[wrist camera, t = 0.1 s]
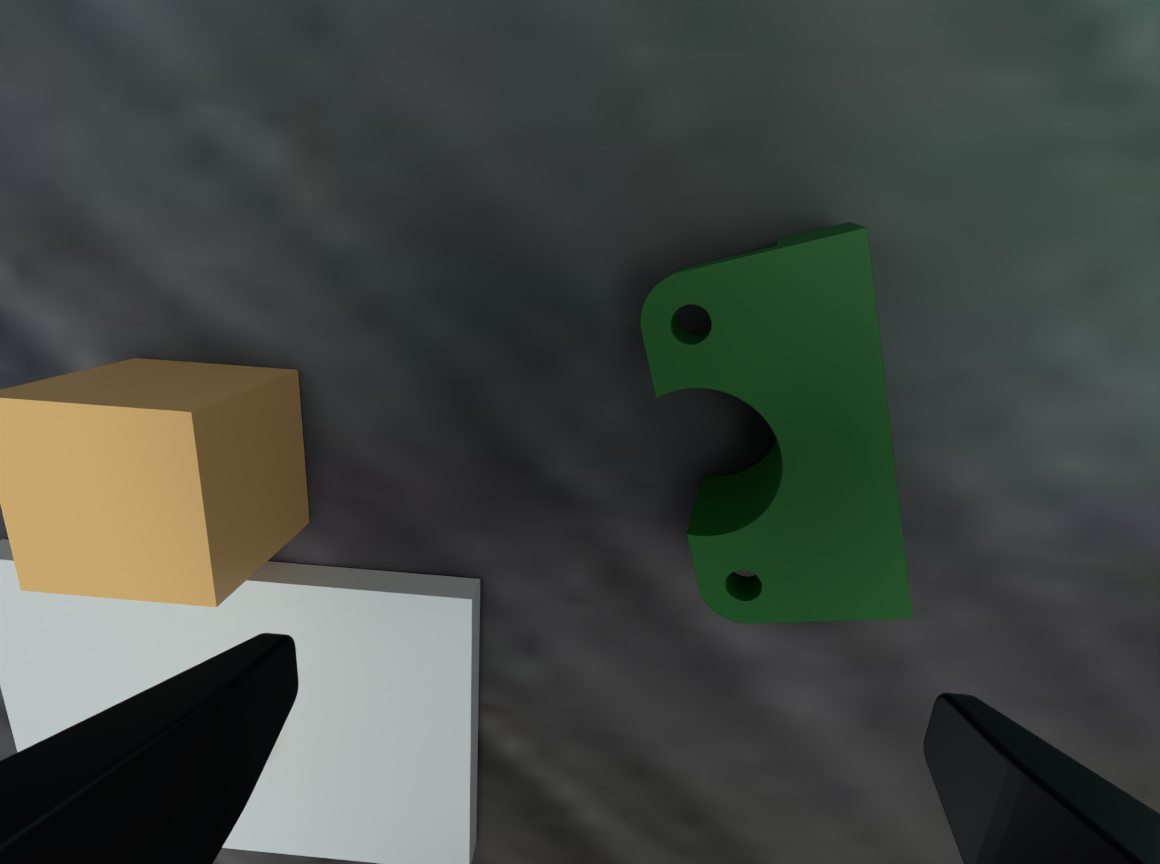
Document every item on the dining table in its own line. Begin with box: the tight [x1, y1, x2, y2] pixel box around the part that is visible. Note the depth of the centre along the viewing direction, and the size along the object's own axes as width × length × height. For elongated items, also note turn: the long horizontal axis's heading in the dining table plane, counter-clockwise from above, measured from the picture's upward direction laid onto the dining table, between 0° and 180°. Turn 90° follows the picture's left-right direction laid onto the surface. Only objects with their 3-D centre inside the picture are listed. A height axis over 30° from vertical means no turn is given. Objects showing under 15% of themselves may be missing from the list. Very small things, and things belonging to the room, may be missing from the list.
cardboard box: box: [0, 358, 310, 607], centre depth 21 cm, size 6×6×6 cm
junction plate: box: [0, 539, 480, 864], centre depth 25 cm, size 14×20×6 cm
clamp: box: [641, 222, 913, 624], centre depth 20 cm, size 12×6×9 cm, turn 8°
